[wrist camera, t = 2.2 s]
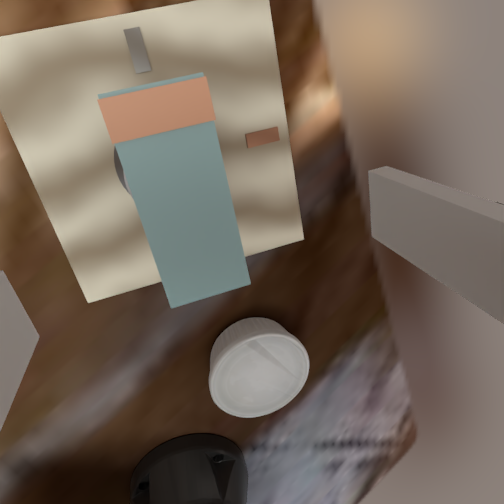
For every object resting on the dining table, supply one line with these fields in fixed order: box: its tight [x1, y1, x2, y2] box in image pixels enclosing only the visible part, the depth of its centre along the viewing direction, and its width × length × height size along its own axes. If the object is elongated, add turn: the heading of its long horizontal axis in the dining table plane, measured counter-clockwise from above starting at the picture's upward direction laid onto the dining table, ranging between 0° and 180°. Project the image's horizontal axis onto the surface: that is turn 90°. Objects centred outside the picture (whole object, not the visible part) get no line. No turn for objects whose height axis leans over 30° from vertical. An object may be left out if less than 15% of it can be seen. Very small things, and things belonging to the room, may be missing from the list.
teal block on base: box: [97, 72, 251, 308], centre depth 26 cm, size 12×7×14 cm, turn 11°
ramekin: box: [209, 317, 309, 418], centre depth 43 cm, size 11×11×5 cm
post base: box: [0, 0, 304, 303], centre depth 34 cm, size 22×22×2 cm
